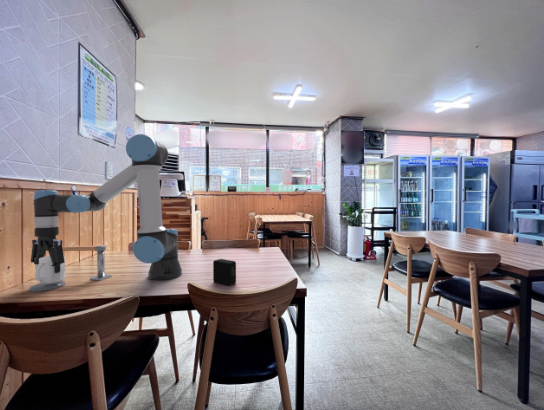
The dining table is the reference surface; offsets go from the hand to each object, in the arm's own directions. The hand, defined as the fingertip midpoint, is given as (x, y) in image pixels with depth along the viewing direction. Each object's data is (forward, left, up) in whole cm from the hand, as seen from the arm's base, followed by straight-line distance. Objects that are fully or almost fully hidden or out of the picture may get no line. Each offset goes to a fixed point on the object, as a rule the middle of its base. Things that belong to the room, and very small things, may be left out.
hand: (47, 279), depth 103 cm
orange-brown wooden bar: (-4, -13, +10) cm, 17 cm away
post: (-11, -15, -3) cm, 19 cm away
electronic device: (-71, -23, -4) cm, 75 cm away
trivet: (0, 0, -3) cm, 3 cm away
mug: (0, 0, -1) cm, 1 cm away
